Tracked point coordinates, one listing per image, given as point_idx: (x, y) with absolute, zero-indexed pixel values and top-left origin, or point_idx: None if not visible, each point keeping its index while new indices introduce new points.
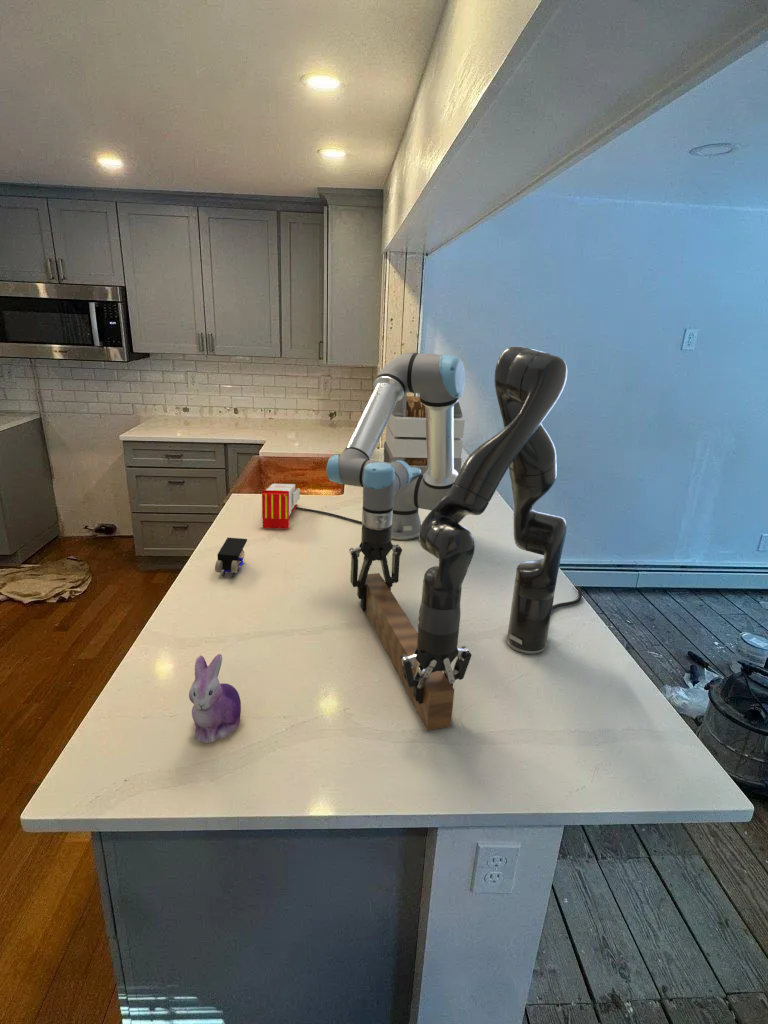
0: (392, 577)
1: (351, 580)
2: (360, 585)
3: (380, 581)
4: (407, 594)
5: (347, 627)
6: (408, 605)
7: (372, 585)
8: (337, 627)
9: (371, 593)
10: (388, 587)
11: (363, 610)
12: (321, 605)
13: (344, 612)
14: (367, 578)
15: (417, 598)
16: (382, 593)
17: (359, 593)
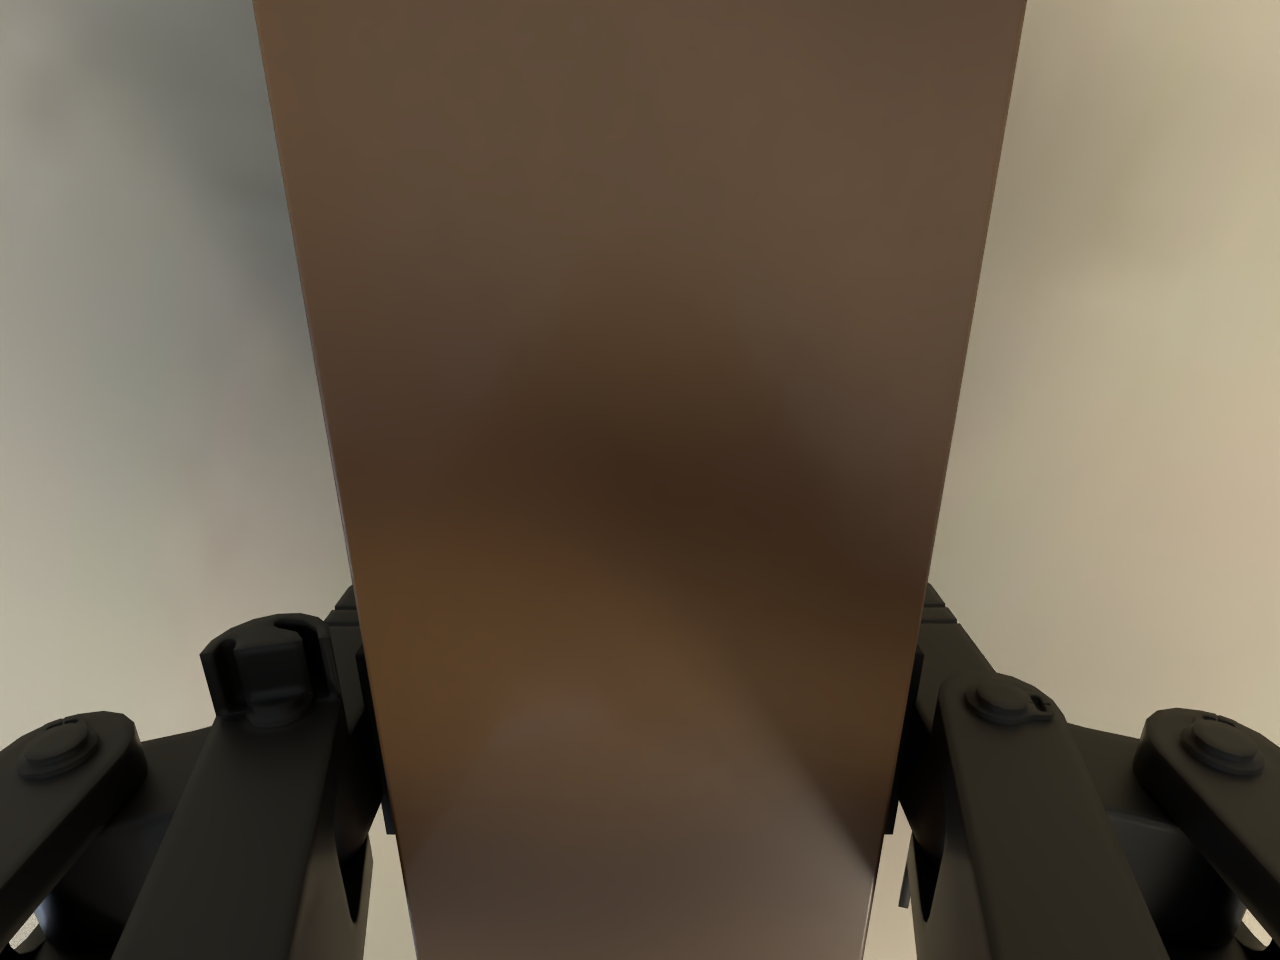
0: (138, 893)
1: (1234, 928)
2: (1053, 728)
3: (500, 790)
4: (161, 734)
5: (1143, 126)
6: (174, 509)
7: (786, 638)
8: (1272, 160)
9: (966, 230)
10: (329, 428)
11: None
12: (1187, 699)
13: (1009, 511)
14: (781, 954)
15: (44, 636)
16: (639, 16)
17: (947, 627)
